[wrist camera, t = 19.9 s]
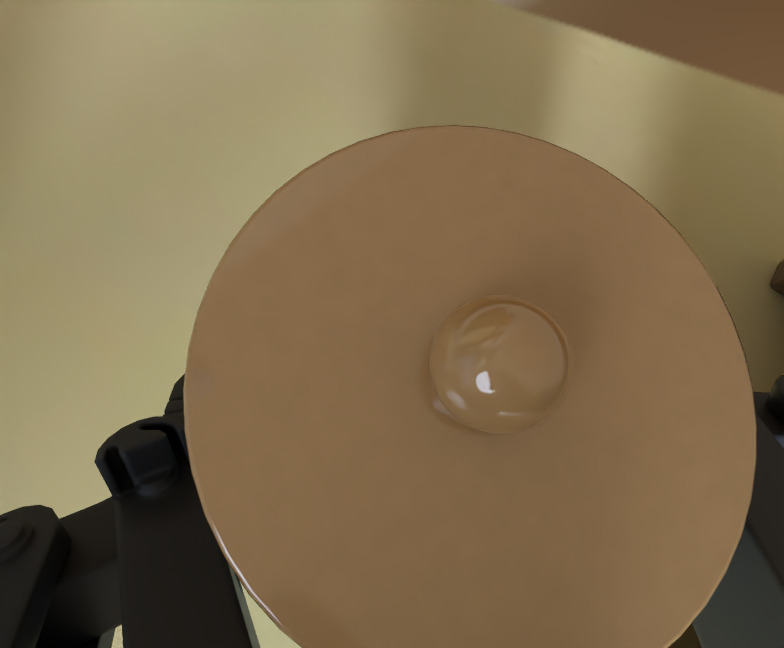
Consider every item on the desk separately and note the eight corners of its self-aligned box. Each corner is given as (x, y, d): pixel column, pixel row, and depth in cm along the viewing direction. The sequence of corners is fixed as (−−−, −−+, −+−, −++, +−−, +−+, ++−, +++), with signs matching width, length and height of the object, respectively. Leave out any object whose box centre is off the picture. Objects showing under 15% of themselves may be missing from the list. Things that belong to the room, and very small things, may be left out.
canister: (251, 471, 15) (-67, 552, 3) (347, 295, 17) (360, -40, 5) (441, 567, 15) (806, 1002, 3) (515, 377, 17) (903, 217, 5)
